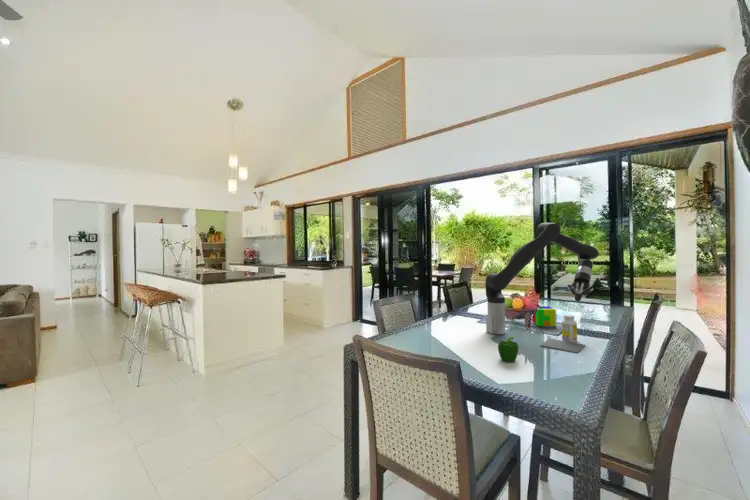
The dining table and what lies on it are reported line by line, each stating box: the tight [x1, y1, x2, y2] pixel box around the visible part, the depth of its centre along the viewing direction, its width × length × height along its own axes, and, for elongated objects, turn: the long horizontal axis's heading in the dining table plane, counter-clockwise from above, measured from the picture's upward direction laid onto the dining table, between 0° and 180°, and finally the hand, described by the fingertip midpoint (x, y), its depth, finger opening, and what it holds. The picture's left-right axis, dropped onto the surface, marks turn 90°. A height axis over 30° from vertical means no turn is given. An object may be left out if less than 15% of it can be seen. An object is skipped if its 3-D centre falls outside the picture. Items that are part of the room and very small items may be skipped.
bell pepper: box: [497, 336, 519, 363], centre depth 146 cm, size 8×8×10 cm
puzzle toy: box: [531, 305, 557, 327], centre depth 204 cm, size 10×10×10 cm
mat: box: [539, 338, 586, 354], centre depth 164 cm, size 14×16×1 cm
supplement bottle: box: [561, 314, 578, 343], centre depth 172 cm, size 7×7×13 cm
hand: (577, 300), depth 183 cm, fingers closed
